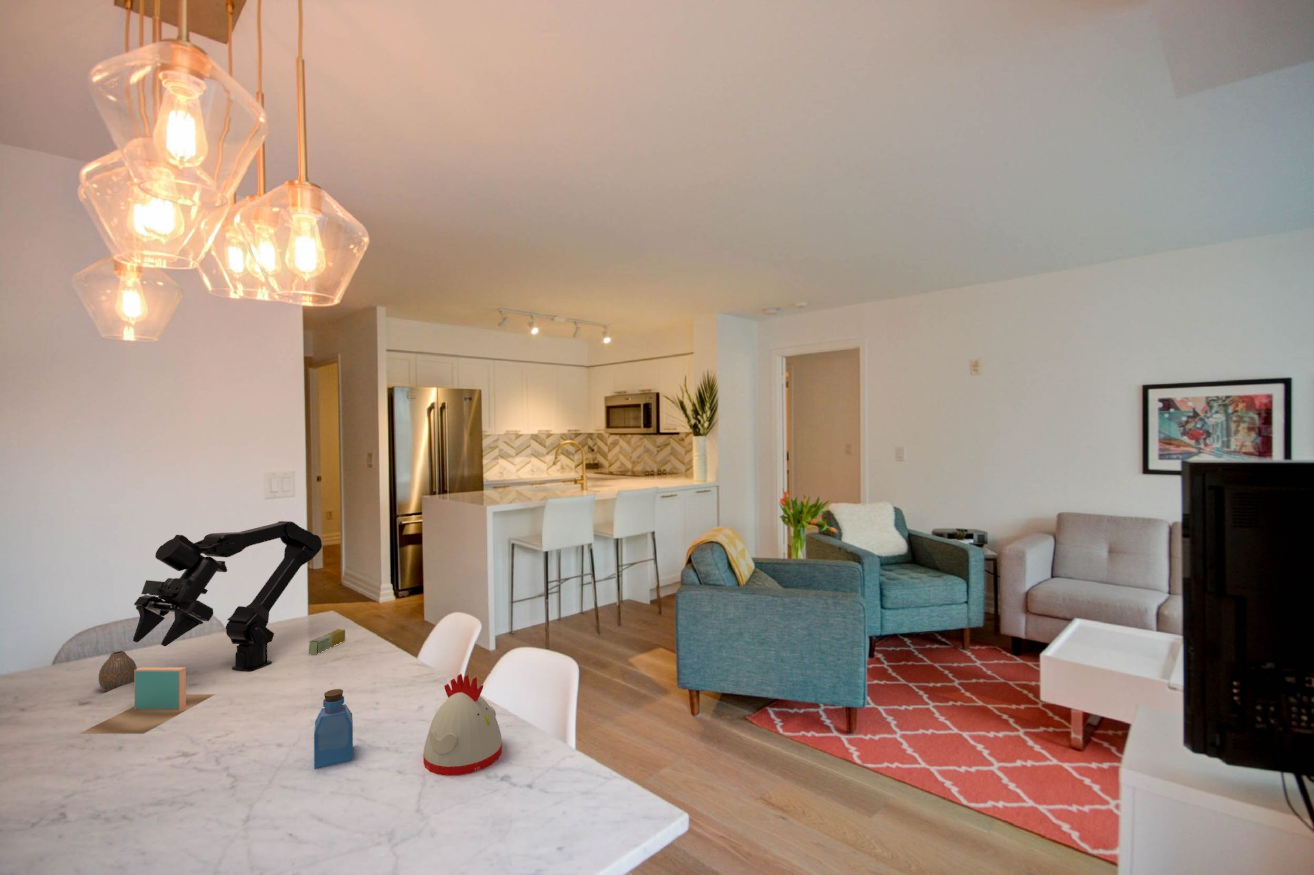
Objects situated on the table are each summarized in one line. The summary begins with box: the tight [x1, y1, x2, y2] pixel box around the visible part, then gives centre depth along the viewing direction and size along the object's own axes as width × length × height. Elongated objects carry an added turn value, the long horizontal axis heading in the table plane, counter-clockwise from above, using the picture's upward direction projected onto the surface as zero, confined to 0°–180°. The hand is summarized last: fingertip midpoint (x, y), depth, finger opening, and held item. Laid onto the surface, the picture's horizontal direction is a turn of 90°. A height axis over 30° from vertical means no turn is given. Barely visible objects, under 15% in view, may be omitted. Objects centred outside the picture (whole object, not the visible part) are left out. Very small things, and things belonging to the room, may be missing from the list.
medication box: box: [308, 628, 346, 656], centre depth 175 cm, size 12×3×4 cm, turn 171°
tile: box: [133, 666, 187, 710], centre depth 132 cm, size 2×10×8 cm, turn 89°
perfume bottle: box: [313, 688, 354, 770], centre depth 113 cm, size 6×6×12 cm
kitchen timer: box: [422, 673, 503, 777], centre depth 114 cm, size 14×14×15 cm
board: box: [80, 693, 216, 735], centre depth 130 cm, size 19×13×2 cm
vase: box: [98, 650, 138, 693], centre depth 146 cm, size 7×7×9 cm
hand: (148, 643), depth 137 cm, fingers open, 9 cm apart
